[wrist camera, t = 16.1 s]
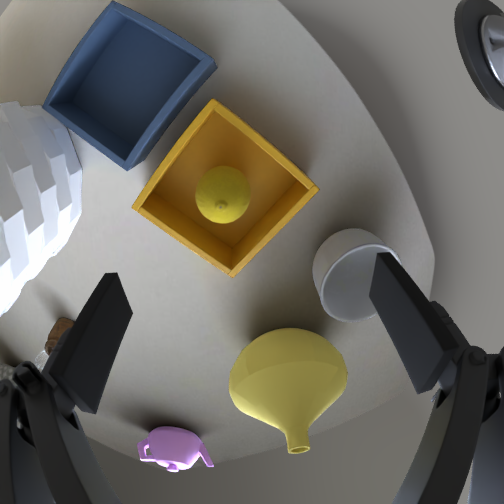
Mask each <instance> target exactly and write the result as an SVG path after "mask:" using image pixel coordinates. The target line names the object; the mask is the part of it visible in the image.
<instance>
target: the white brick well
mask: <svg viewBox="0 0 504 504" xmlns="http://www.w3.org/2000/svg"><path fill="white" fill-rule="evenodd" d="M81 186H82V168H81V165H80V162H79V160H78V157H77V155H76V152H75V149H74V147H73V144H72V141H71V138H70V135H69V132H68V129H67V127H65V126H64V125H63V124H62V123H60V122H59V121H58V120H57V119H56V118H55V117H53V116H52V115H51V114H49V113H48V112H47V111H45V110H44V109H43V108H42V106H41V105H35V106H22V107H20V105H19V103H18V101H13V102H7V103H1V104H0V317H1V316H2V314H3V313H5V312H7V311H8V310H9V309H10V307H11V306H12V305H13V303H14V302H15V301H16V299H17V298H18V297H19V296H20V291H21V288H22V287H23V285H24V284H25V283H26V281H28V280H30V279H33V278H34V277H35V276H36V275H37V274H38V272H39V271H40V270H41V269H42V268H43V267H44V265H45V263H46V261H47V260H48V259H49V258H50V257H51V256H54V255H56V254H57V253H58V252H59V251H60V250H61V249H62V248H63V247H64V246H65V245H66V243H67V241H68V238H69V236H70V234H71V232H72V230H73V228H74V226H75V224H76V222H77V221H78V219H79V217H80V215H81Z"/></svg>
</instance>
